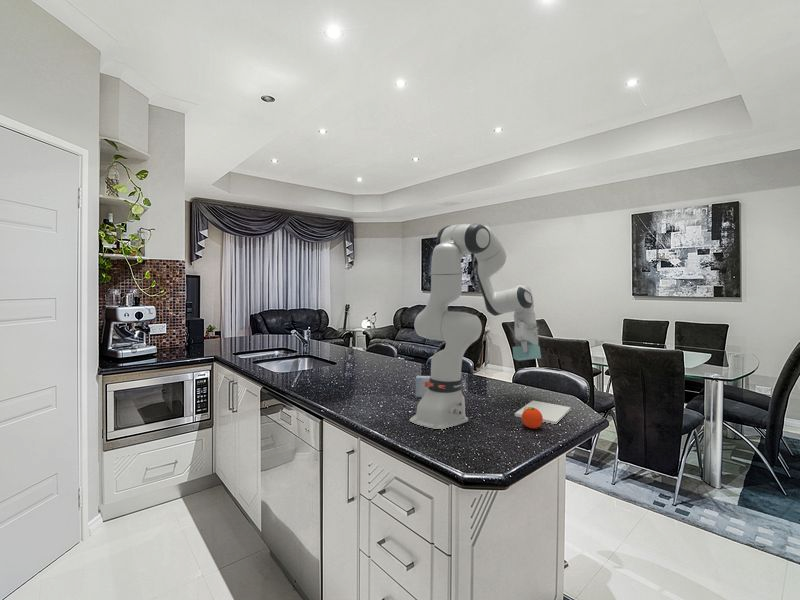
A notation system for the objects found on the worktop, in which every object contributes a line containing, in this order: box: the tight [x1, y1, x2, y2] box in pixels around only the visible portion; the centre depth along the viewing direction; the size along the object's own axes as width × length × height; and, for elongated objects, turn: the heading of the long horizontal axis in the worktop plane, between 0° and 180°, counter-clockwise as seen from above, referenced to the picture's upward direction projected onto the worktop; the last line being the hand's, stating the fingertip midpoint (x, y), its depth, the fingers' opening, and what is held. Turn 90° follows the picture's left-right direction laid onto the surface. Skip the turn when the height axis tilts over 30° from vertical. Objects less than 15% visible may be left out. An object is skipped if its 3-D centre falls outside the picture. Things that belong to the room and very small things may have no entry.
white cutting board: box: [514, 399, 571, 425], centre depth 152 cm, size 22×15×1 cm
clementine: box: [521, 407, 543, 429], centre depth 136 cm, size 8×7×7 cm
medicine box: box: [414, 375, 431, 398], centre depth 172 cm, size 8×4×9 cm, turn 84°
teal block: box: [512, 344, 542, 361], centre depth 166 cm, size 5×5×10 cm
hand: (528, 354), depth 165 cm, fingers closed on teal block, 5 cm apart
